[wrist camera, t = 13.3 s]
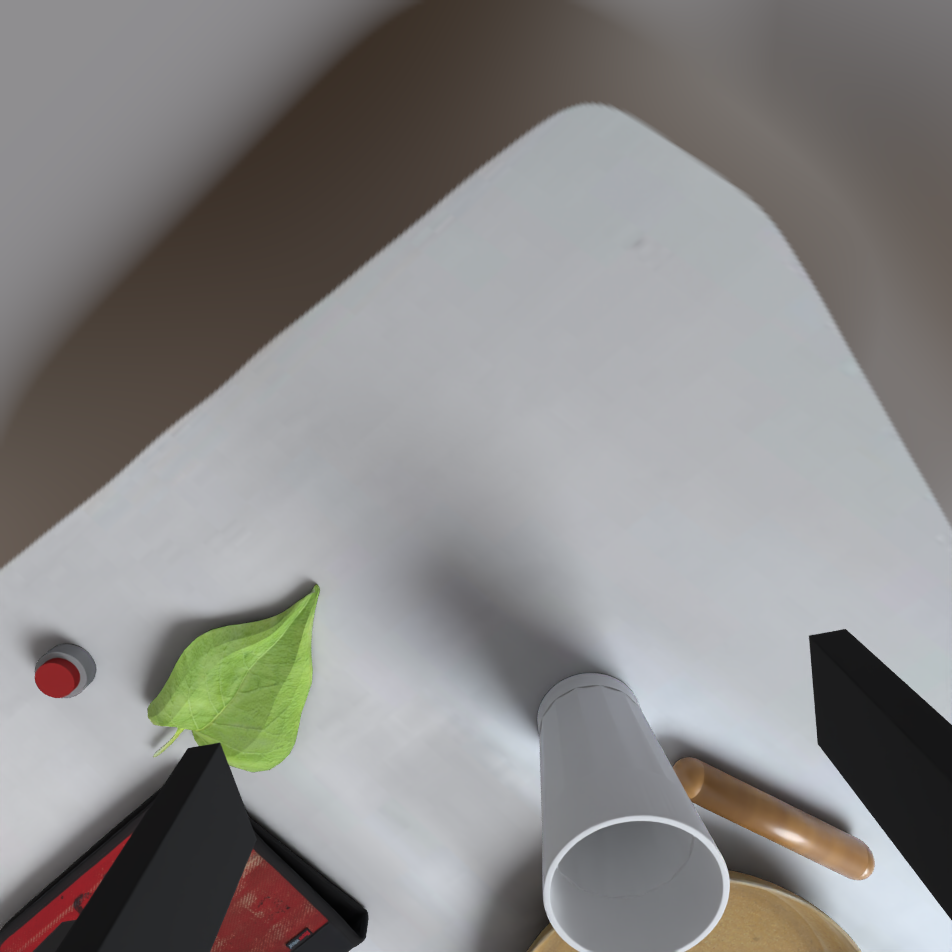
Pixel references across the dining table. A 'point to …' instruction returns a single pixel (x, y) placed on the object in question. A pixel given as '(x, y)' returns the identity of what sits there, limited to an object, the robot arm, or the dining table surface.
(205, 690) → the leaf
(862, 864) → the dowel
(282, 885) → the notebook
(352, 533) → the dining table surface
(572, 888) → the cup
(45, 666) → the push button
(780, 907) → the plant saucer
